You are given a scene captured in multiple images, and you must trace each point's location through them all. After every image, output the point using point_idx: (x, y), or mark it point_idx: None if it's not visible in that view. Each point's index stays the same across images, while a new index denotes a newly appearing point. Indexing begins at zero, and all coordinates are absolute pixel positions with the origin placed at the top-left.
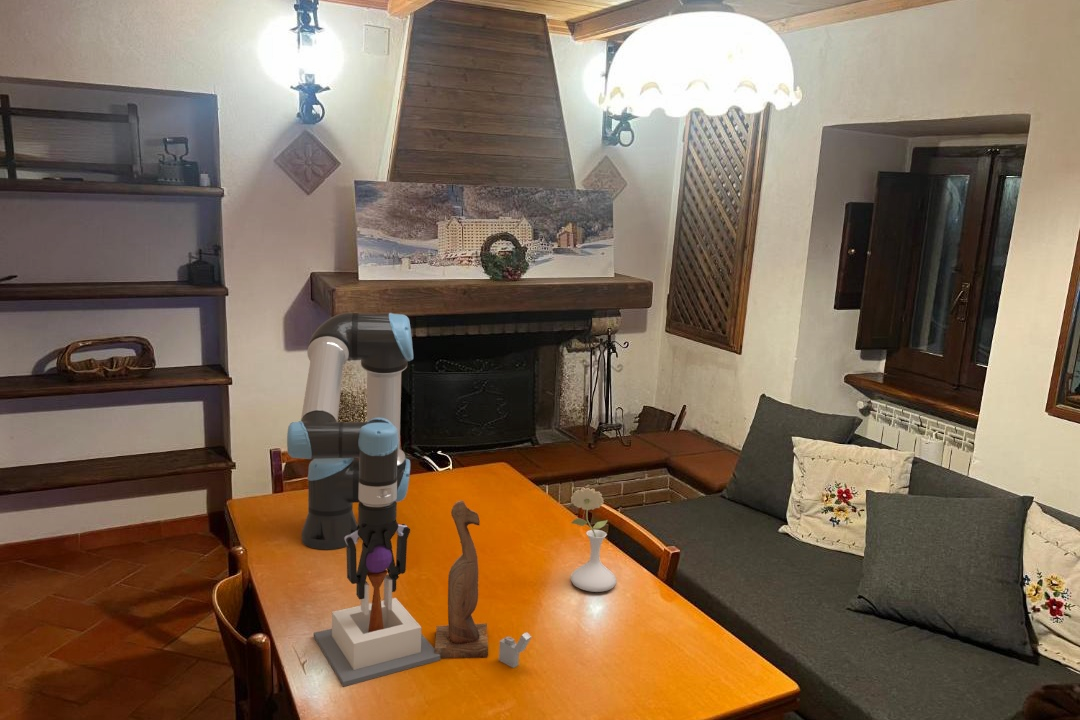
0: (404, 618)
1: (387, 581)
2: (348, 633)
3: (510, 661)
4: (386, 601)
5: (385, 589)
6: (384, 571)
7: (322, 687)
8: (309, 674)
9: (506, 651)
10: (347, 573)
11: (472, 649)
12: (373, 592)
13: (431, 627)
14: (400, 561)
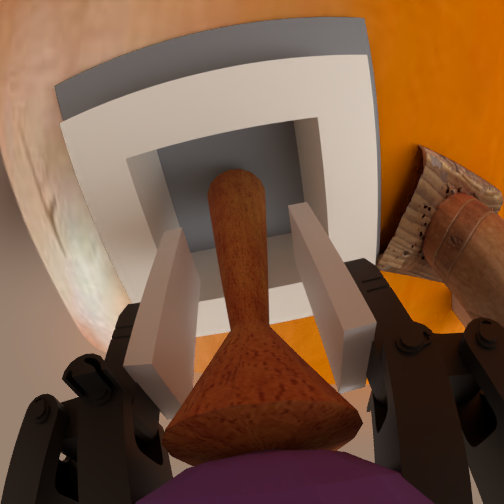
0: (348, 240)
1: (335, 363)
2: (131, 292)
3: (456, 311)
4: (299, 259)
5: (314, 285)
6: (331, 444)
7: (107, 305)
8: (72, 258)
9: (464, 315)
10: (25, 443)
11: (436, 280)
12: (227, 313)
13: (414, 118)
14: (469, 463)
